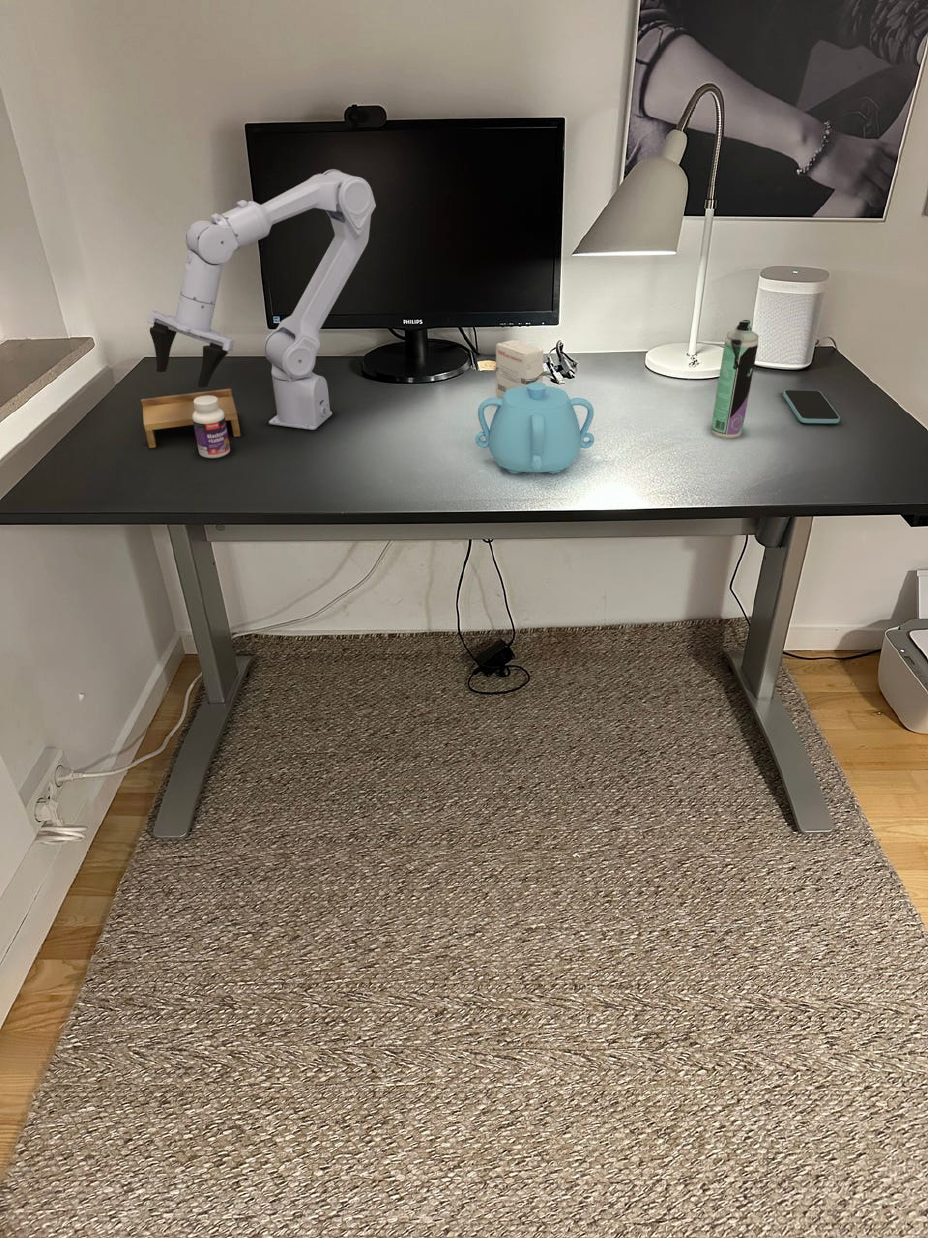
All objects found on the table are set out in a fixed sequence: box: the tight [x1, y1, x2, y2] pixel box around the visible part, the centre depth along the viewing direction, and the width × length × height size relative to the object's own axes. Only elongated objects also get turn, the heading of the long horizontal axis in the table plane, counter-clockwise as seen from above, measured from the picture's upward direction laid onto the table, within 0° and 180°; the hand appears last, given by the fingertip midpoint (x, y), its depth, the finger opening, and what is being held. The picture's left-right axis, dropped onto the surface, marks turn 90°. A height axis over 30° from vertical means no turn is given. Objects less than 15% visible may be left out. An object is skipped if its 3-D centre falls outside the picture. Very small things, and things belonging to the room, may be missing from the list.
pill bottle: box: [192, 395, 231, 459], centre depth 156 cm, size 5×5×10 cm
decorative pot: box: [474, 382, 595, 474], centre depth 151 cm, size 16×16×14 cm
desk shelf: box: [140, 388, 241, 449], centre depth 164 cm, size 16×9×6 cm, turn 107°
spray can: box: [710, 319, 760, 439], centre depth 158 cm, size 6×6×20 cm
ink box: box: [495, 339, 544, 399], centre depth 170 cm, size 9×5×12 cm, turn 39°
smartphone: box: [782, 389, 841, 424], centre depth 171 cm, size 7×1×15 cm
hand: (181, 378), depth 154 cm, fingers open, 7 cm apart
